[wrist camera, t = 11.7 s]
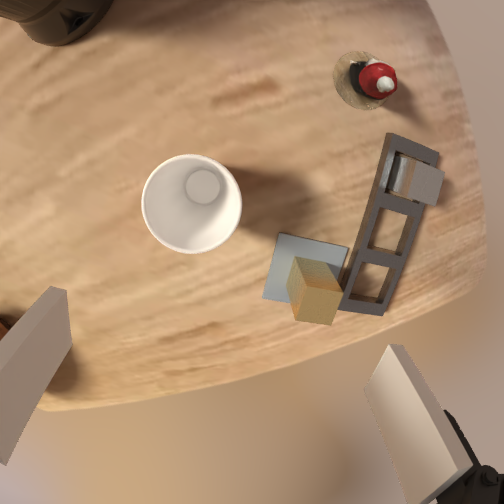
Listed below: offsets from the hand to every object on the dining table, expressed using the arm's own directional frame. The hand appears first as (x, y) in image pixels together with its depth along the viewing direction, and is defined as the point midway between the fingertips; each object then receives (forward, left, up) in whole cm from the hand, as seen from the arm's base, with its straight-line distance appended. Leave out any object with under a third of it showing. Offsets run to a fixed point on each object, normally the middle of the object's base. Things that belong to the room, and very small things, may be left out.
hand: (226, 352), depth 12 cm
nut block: (+9, +12, -31) cm, 34 cm away
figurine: (-19, +13, -31) cm, 39 cm away
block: (-8, +22, -31) cm, 39 cm away
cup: (0, -4, -31) cm, 32 cm away
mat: (+9, +12, -31) cm, 34 cm away
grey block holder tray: (0, +22, -31) cm, 38 cm away
